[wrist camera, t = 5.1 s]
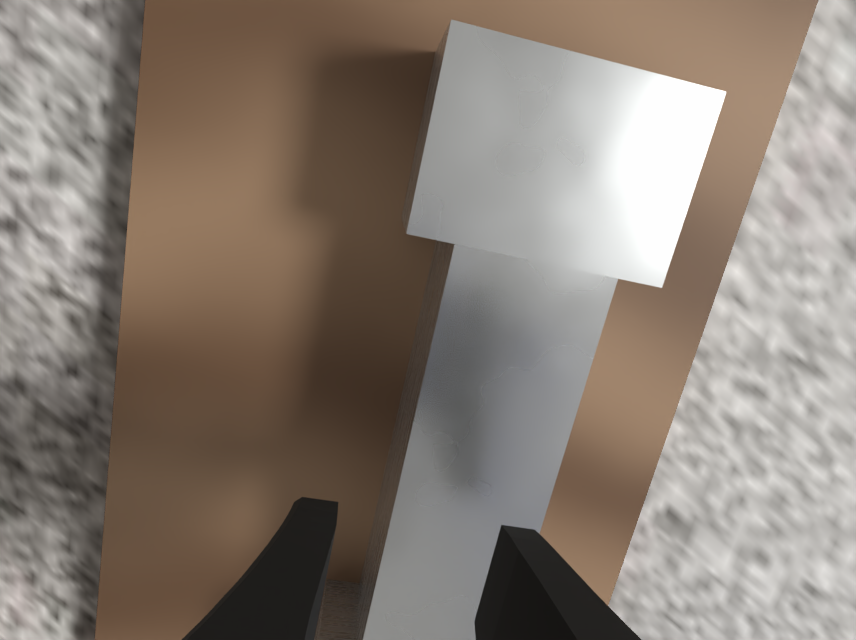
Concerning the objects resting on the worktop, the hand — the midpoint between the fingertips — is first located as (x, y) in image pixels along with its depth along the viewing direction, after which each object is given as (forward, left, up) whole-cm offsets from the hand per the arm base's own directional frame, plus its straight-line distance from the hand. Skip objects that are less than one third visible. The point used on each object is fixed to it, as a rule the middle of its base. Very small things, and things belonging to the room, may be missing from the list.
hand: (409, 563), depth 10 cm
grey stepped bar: (0, -1, -5) cm, 5 cm away
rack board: (0, 0, -6) cm, 6 cm away
